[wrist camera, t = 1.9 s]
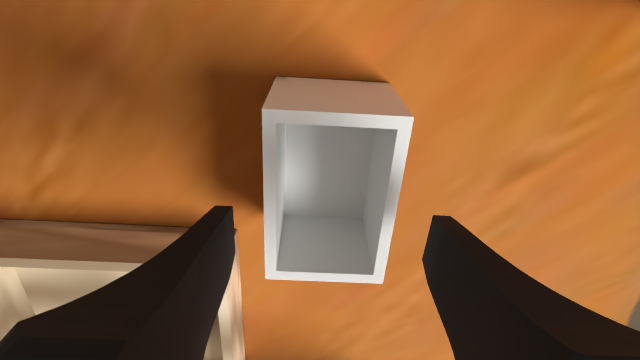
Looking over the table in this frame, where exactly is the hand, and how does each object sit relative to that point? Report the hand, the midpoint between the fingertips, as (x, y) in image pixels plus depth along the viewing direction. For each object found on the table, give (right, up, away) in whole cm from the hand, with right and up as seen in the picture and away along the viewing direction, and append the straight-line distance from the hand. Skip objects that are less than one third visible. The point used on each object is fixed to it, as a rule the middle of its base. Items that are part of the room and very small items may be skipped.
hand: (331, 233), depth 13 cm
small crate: (0, +3, +6) cm, 7 cm away
